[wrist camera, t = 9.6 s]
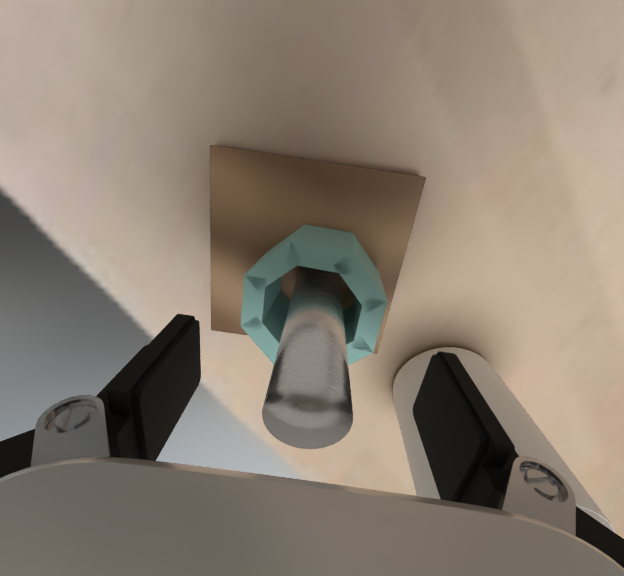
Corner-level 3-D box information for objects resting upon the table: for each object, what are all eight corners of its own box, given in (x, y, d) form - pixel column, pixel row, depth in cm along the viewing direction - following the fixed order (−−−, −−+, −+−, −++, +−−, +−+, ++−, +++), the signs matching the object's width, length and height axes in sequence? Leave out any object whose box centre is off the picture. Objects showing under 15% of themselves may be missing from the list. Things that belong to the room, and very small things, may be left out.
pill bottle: (371, 372, 24) (431, 674, 10) (469, 326, 21) (719, 628, 8) (416, 433, 26) (514, 742, 12) (508, 397, 24) (748, 722, 10)
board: (217, 145, 17) (210, 145, 16) (419, 175, 17) (426, 177, 16) (216, 321, 22) (211, 329, 21) (374, 343, 22) (377, 353, 21)
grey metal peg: (299, 256, 19) (265, 375, 9) (343, 263, 19) (361, 389, 9) (294, 296, 20) (259, 442, 10) (335, 302, 20) (343, 453, 10)
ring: (271, 218, 18) (246, 233, 14) (387, 238, 17) (398, 260, 13) (261, 319, 20) (238, 358, 16) (361, 339, 20) (364, 383, 16)
